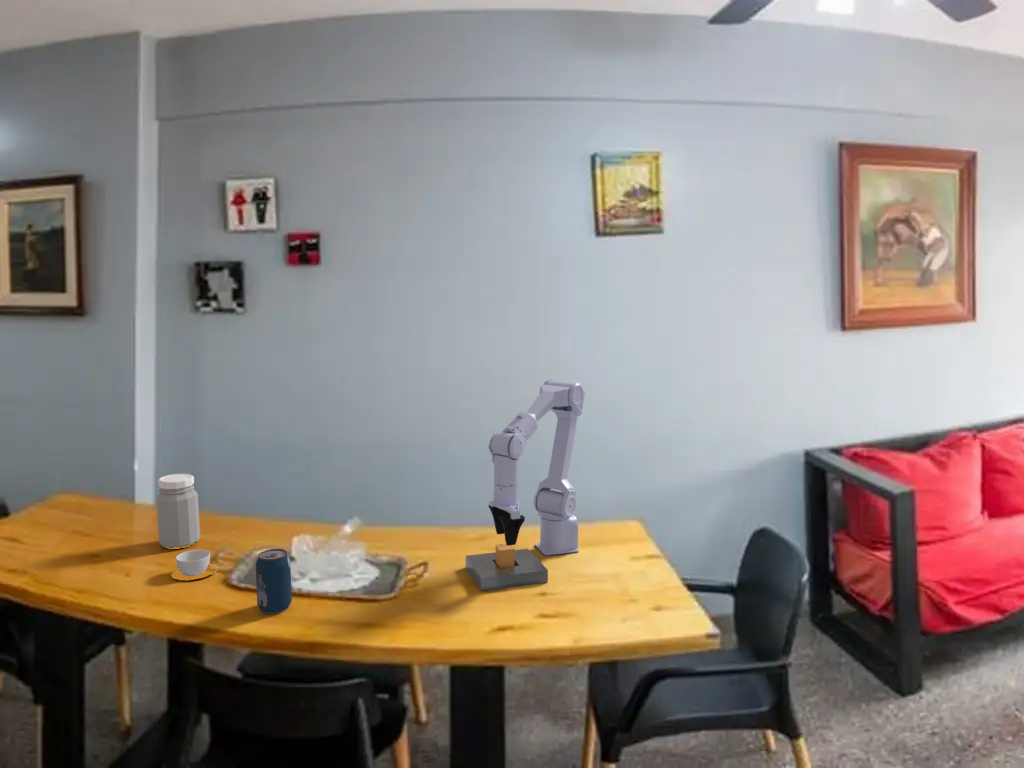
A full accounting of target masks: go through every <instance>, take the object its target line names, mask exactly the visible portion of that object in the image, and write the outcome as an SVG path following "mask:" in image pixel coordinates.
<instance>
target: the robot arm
mask: <svg viewBox="0 0 1024 768" xmlns="http://www.w3.org/2000/svg"><path fill="white" fill-rule="evenodd" d="M539 387H540V388H539V395H538V396H537V397H536V398H535V400H534V402H533V403H532V404H531V406H530V407H529V408H528V410H527V411H523V412H518V413H517V414H516V416H515V417H514V418H513V419H512V421H511V422H510V423H509V424H508V425H507V426H506V427H505V428H504V429H503V430H502V431H497V432H496V433H494V434H492V436H491V438H490V441H489V444H488V450H489V453H490V455H491V461H492V463H493V494H492V496H493V497H492V499H493V500H492V501H489V502H488V505H487V506H488V508H489V510H490V512H491V515H492V519H493V522H494V527H495V532H496V535H504V540H505V544H506V545H507V546H509V545H512V546H515V545H516V544H517V541H518V536H519V532H520V529H521V528H522V525H523V523H524V522H525V520H526V519H525V518H526V517H525V516H524V515H523V514H521V510H520V500H519V486H520V485H519V477H520V476H519V475H520V474H519V472H520V471H519V470H520V469H519V465H520V463H519V462H520V460H519V459H520V457H522V455H523V453H524V450H525V446H526V445H527V441H528V440H529V439H530V438H531V437H532V435H533V434H535V432H536V431H537V430H538V428H539V427H538V426H539V424H538V422H539V421H540V420H541V419H542V418H543V417H544V416H546V414H547V413H548V412H550V411H551V412H552V413H554V414H555V416H556V418H557V420H556V421H557V422H556V427H555V433H554V440H553V445H552V451H551V457H550V464H549V469H548V474H547V477H546V478H545V479H543V480H541V481H540V482H539V483H538V487H537V490H536V493H535V494H534V497H533V506H534V510H536V512H537V515H538V516H539V517H540V524H539V525H540V531H539V532H540V534H539V535H540V536H539V538H540V539H539V542H535V543H534V546H535V547H536V548H537V549H538V550H539V551H540V552H541V553H542V554H543V555H544V556H553V555H562V554H569V553H578V552H580V549H579V523H578V518H577V517H576V516H575V515H574V512H575V511H576V507H577V505H576V504H577V501H576V492H577V490H576V488H575V487H574V486H573V485H572V484H571V482H569V475H570V470H571V469H570V468H571V462H572V457H573V453H574V452H573V450H574V445H575V439H576V433H577V428H578V421H579V417H580V416H581V415H582V412H583V408H584V400H585V396H586V395H585V394H586V393H585V390H584V389H583V386H582V384H581V383H580V382H571V381H561V380H554V379H553V380H552V379H546V380H545V381H544V382H543V384H541V385H540V386H539Z"/></svg>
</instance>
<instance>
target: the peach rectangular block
mask: <svg viewBox="0 0 1024 768" xmlns="http://www.w3.org/2000/svg"><path fill="white" fill-rule="evenodd" d="M515 550H516V549H515V548H514V545H509V546H507V545H506V543H502V544H501V543H500V544H495V552H496V566H497V567H498V568H504V567H513V566H514V563H515Z"/></svg>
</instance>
